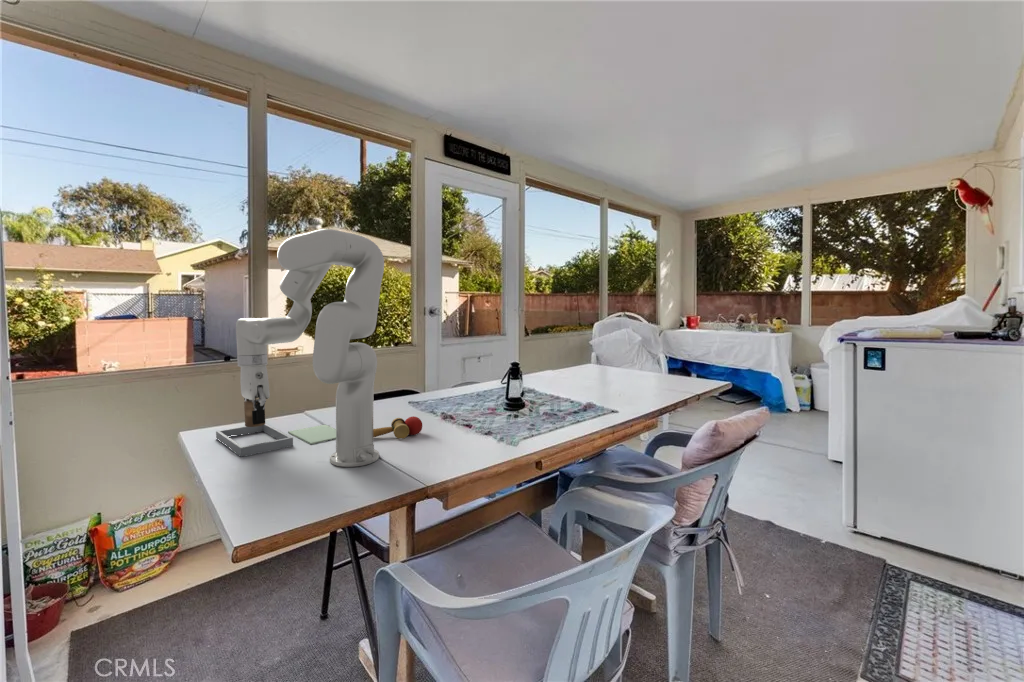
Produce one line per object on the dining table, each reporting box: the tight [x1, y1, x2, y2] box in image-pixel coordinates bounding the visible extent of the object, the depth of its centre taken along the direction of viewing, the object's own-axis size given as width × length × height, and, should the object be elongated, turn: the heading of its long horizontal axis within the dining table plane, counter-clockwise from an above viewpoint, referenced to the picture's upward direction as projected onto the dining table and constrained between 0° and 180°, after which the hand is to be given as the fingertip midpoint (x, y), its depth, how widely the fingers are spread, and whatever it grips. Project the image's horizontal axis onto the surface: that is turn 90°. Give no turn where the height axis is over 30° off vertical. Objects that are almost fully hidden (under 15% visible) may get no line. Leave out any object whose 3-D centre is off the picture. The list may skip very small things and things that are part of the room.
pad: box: [287, 424, 336, 445], centre depth 142 cm, size 16×12×1 cm
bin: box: [215, 422, 294, 457], centre depth 132 cm, size 22×14×2 cm, turn 48°
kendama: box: [373, 416, 423, 439], centre depth 142 cm, size 8×6×18 cm
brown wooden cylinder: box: [243, 398, 266, 427], centre depth 131 cm, size 5×5×7 cm
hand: (255, 421), depth 132 cm, fingers closed on brown wooden cylinder, 5 cm apart
